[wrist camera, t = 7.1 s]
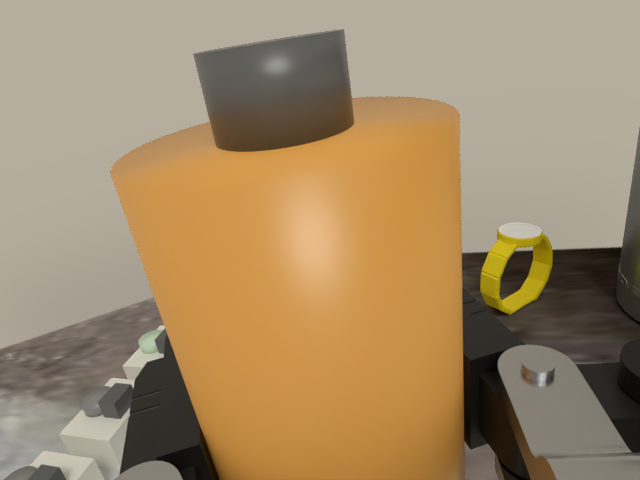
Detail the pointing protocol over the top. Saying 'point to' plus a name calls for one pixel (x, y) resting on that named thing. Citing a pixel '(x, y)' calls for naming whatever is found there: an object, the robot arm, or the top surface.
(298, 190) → the orange thermos flask
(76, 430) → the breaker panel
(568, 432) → the robot arm
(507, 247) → the watch
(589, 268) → the top surface
